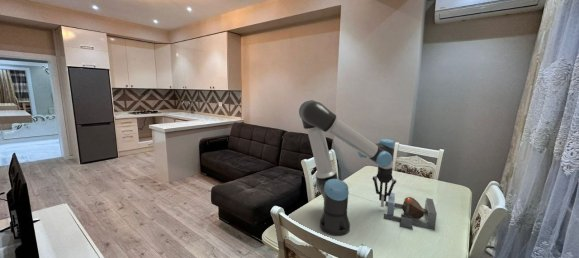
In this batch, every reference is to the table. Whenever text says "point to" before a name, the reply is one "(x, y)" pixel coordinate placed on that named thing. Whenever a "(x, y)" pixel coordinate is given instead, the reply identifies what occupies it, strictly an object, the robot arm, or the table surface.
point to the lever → (408, 201)
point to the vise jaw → (391, 204)
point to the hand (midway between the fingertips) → (382, 205)
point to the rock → (413, 209)
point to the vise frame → (408, 222)
